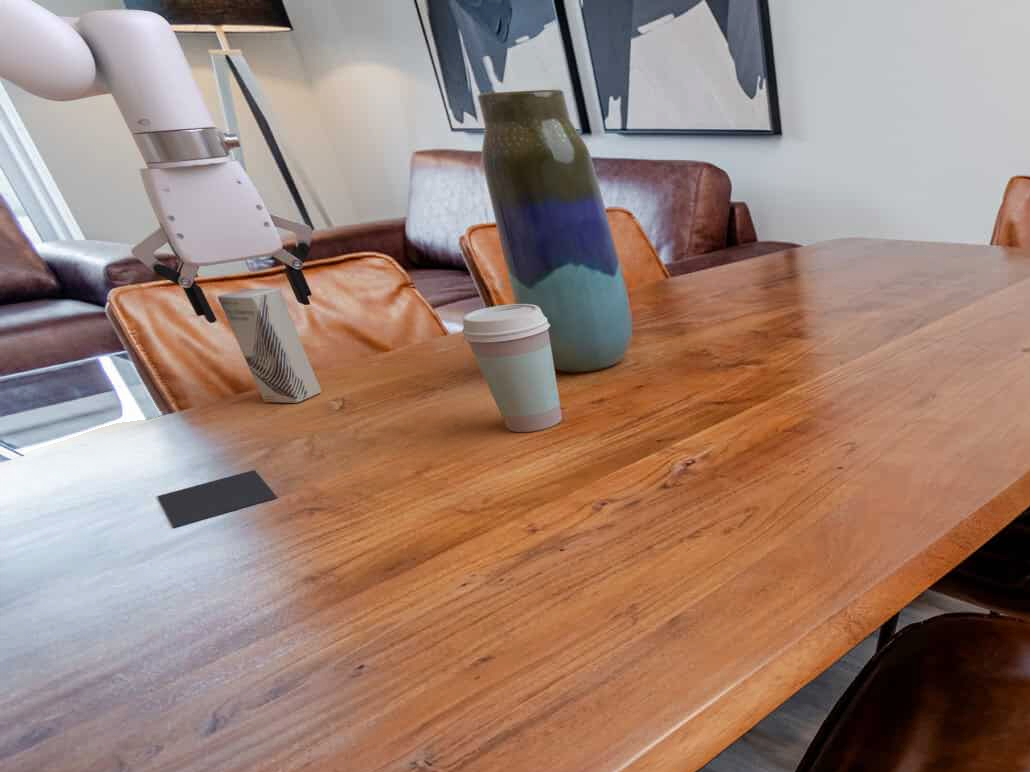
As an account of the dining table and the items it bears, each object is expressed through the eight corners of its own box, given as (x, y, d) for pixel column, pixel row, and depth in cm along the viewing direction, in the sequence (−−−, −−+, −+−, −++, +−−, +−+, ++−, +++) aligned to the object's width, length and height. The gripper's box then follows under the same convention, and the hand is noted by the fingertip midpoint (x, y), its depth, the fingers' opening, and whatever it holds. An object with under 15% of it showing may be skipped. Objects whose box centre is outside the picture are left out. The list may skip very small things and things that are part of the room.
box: (263, 403, 102) (212, 296, 96) (291, 392, 106) (243, 288, 99) (300, 404, 102) (251, 295, 95) (326, 392, 105) (281, 287, 98)
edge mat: (173, 528, 72) (173, 527, 72) (157, 496, 79) (157, 496, 79) (277, 497, 77) (277, 496, 77) (254, 470, 83) (254, 469, 83)
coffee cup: (584, 408, 95) (556, 300, 89) (560, 434, 88) (528, 319, 81) (510, 412, 95) (477, 305, 89) (481, 439, 88) (442, 324, 81)
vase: (555, 387, 102) (473, 93, 86) (520, 365, 112) (440, 96, 95) (658, 362, 109) (601, 86, 93) (617, 344, 119) (559, 90, 102)
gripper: (267, 142, 96) (330, 293, 106) (79, 158, 87) (167, 323, 96) (282, 142, 92) (347, 301, 101) (85, 159, 82) (177, 333, 91)
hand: (259, 312), depth 98 cm, fingers open, 9 cm apart
